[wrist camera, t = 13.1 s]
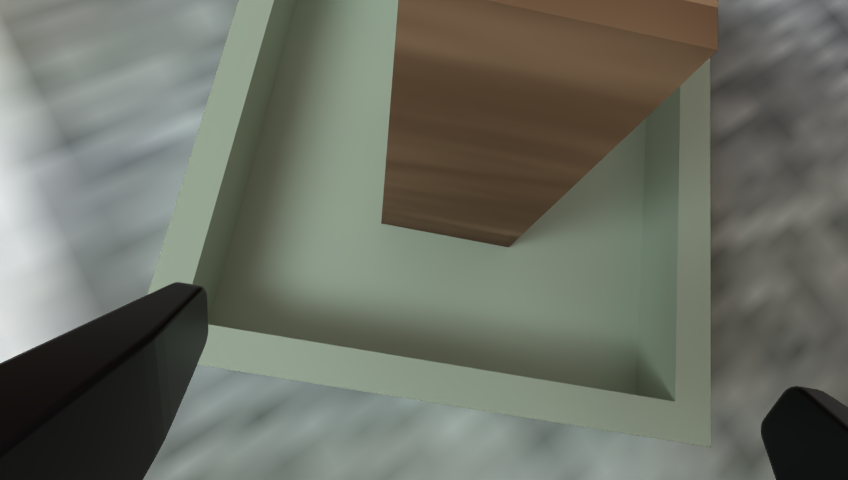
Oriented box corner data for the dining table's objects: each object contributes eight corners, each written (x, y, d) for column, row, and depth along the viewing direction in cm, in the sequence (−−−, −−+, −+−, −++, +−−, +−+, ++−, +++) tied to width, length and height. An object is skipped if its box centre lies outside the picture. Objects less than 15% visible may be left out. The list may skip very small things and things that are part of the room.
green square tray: (651, 435, 19) (711, 447, 16) (173, 358, 18) (129, 353, 15) (662, 38, 24) (710, -17, 21) (287, -40, 23) (273, -111, 20)
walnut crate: (508, 247, 20) (718, 49, 8) (381, 223, 19) (399, -19, 8) (525, 111, 21) (718, -221, 10) (407, 87, 21) (457, -285, 9)
